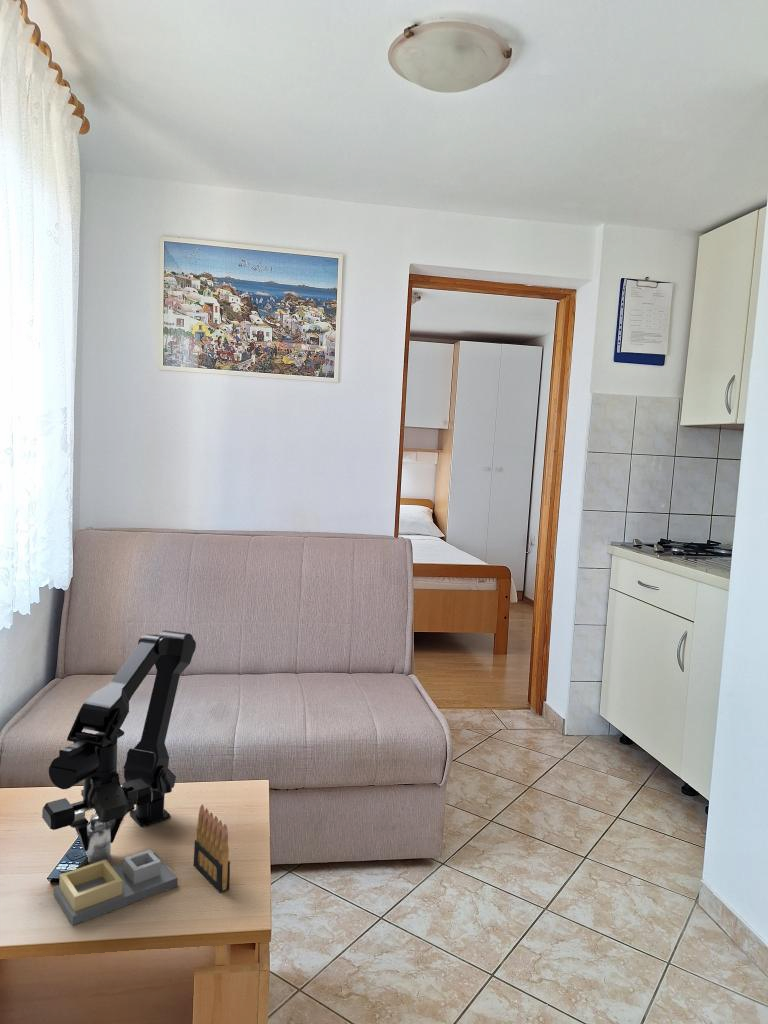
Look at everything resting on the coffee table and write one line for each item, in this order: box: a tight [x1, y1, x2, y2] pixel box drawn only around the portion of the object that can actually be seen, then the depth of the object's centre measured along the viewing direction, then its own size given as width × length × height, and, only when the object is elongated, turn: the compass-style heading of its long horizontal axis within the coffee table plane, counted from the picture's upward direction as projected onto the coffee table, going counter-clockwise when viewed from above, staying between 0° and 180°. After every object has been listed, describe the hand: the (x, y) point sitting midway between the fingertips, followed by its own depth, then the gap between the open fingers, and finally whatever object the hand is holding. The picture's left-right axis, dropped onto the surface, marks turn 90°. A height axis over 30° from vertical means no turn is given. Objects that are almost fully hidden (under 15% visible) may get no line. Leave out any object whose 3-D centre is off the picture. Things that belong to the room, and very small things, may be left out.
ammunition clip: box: [192, 804, 231, 894], centre depth 128 cm, size 11×2×12 cm, turn 41°
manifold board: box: [53, 849, 179, 926], centre depth 123 cm, size 10×18×4 cm, turn 131°
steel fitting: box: [85, 812, 112, 865], centre depth 133 cm, size 4×4×8 cm
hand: (98, 846), depth 133 cm, fingers closed on steel fitting, 4 cm apart
